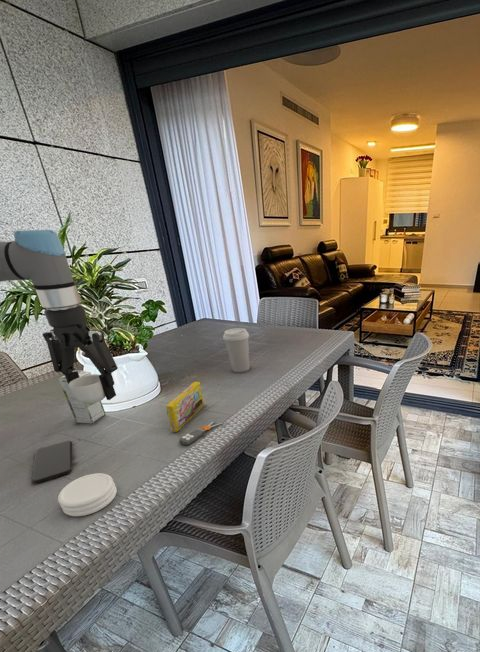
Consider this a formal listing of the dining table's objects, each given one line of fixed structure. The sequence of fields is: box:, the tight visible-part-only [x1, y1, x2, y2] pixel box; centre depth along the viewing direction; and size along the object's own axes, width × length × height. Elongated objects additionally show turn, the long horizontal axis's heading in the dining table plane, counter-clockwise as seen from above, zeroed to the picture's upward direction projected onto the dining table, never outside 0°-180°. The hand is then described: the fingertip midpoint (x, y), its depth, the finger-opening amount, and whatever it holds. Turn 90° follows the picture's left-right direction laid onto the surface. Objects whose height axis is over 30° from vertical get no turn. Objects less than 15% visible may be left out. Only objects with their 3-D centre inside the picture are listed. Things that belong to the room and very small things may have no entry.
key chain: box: [178, 421, 224, 446], centre depth 96 cm, size 13×4×2 cm, turn 150°
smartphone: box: [31, 440, 73, 484], centre depth 87 cm, size 8×1×16 cm
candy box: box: [165, 381, 205, 433], centre depth 102 cm, size 16×2×8 cm, turn 170°
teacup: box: [69, 373, 106, 404], centre depth 89 cm, size 10×8×5 cm
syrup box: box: [58, 370, 106, 425], centre depth 102 cm, size 6×6×14 cm
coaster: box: [57, 472, 118, 517], centre depth 74 cm, size 10×10×4 cm
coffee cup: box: [222, 327, 251, 373], centre depth 133 cm, size 10×10×15 cm
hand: (96, 397), depth 90 cm, fingers closed on teacup, 8 cm apart
